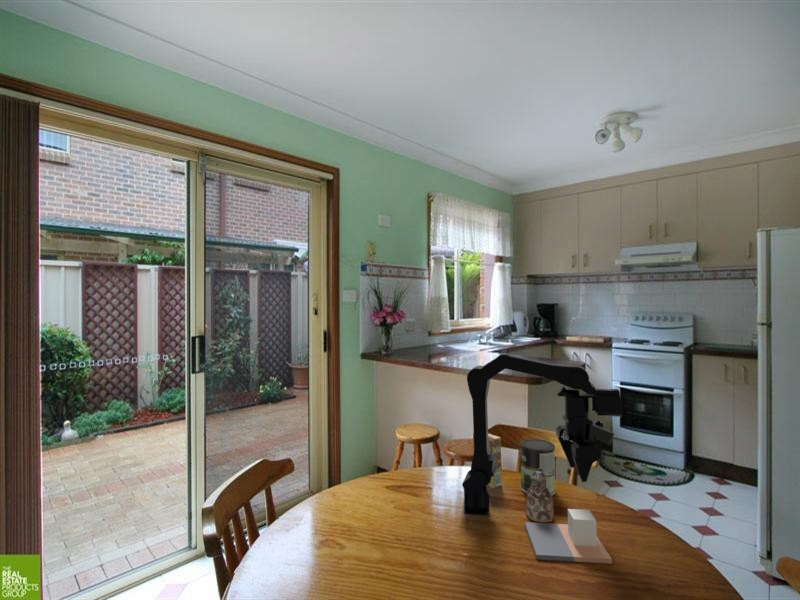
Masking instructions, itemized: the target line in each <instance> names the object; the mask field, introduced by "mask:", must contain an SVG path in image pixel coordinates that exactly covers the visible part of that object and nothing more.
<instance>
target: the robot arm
mask: <svg viewBox="0 0 800 600" xmlns="http://www.w3.org/2000/svg"><path fill="white" fill-rule="evenodd" d="M504 370H511V371H515V372H519V373H523V374H529V375H532V376H538V377H542V378H545V379H546V378H547V379H550V380H552V381H554V382H556V383H559V384H560V385H562V386H561V388H560V389H559V390H557V396H558V397H564V414H562V419H563V421H565V422H564V424H565V425H564V424H562V425H561V424H560V425H557V427H556V428H555V435H556V436H557V440H558V442H559V443H560V446H561V449H562V451H563V452H564V455H565V457H566V460H567V463H568V464H569V466H570V468H573V469H574V468H576V470H577V472H578V475H579V478H580V481H581V482H582V483H587V482H588V478H589V475H590V472H591V468H592V467H593V465H594V463H595V462H596V461H597V462H598V461H600V460H602V459H603V458H604V455H603V453H604V451H603V449H602V448H601V447H600V446H598V444H597V443H595V442H594V441H595V440H597V441H600V442H602V443H605V444H606V445H607V446H608V445H609V446H611V444H612V441H613V439H614V436H615V433H614V432H613V431H611V429H608V428H606V427H604V423H603V422H602V421H600V420H599V419H594V420H592V419H590V411H589V410H590V409H591V412H594V413H595V414H596V416H603V417H604V416H605V417H619V418H622V416H623V404H622V399H621V391H620V390H619V388H610V389H608V388H607V389H606V388H596V386H595V385H594V384H593V383H592V382H591V381H590V376H589V373H588V371H587V370H586V369H585V368H584V366H582V365H580V364H577V363H552V362H551V363H550V362H545V361H542V360H536V359H532V358H528V357H527V358H526V357H524V356H523V357H521V356H517V355H512V354H509V353H507V352H503V353H501V354H499V355H498V356H496V357H495V358H494V359H492V360H490V361H489V362H487V363H486V364H485V365H476V366H474V367H473V368H472V369H470V371H469V372H468V373H467V375H466V381H467V382H466V383H467V387H468V391H469V394H470V397H471V399H472V421H473V423H472V425H473V433H474V449H473V455H472V458H471V459H472V460H471V464H470V465H471V466H470V470H468V471H467V472H466V475H465V478H464V480H463V481H462V484H461V486H462V488H463V513H464V514H474V515H488V514H489V509H490V492H489V490H488V488H487V487H488V484H489V483H490V481H491V478H492V477H493V476H494V473H495V470H496V465H495V456H496V454H491V453H490V450H489V444H488V433H489V421H488V417H489V416H488V395H489V389H490V384H491V379H492V378H493V377H495V376H497V375H498V374H500V373H501V372H503V371H504ZM567 387H568V388H567ZM570 388H571V389H570ZM580 390H581V391H583V392H580ZM589 399H590V402H589ZM589 403H590V404H589ZM589 405H590V407H589Z"/></svg>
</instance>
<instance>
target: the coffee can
mask: <svg viewBox="0 0 800 600" xmlns="http://www.w3.org/2000/svg"><path fill="white" fill-rule="evenodd" d="M519 447H520V448H519V449H520V489H521V491H522V492H523V493H525V494H527V492H528V489H529V488H530V487H531V486H532V484H531V476H532V474H533V472H535V471H538V468H541V469H542V472H543V473H544V474H545V476H546V478H547V479H546V487H547V488H548V489H549V491H550V493H551V495H552V497H553V496H554V495H555V494H556V465H555V464H556V459H555V458H556V453H555V452H556V451H555V449H556V444H554V443H553V442H552V441H548V440H545V439H542V438H541V439H540V438H526V439H523V440H521V441H520V442H519Z"/></svg>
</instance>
